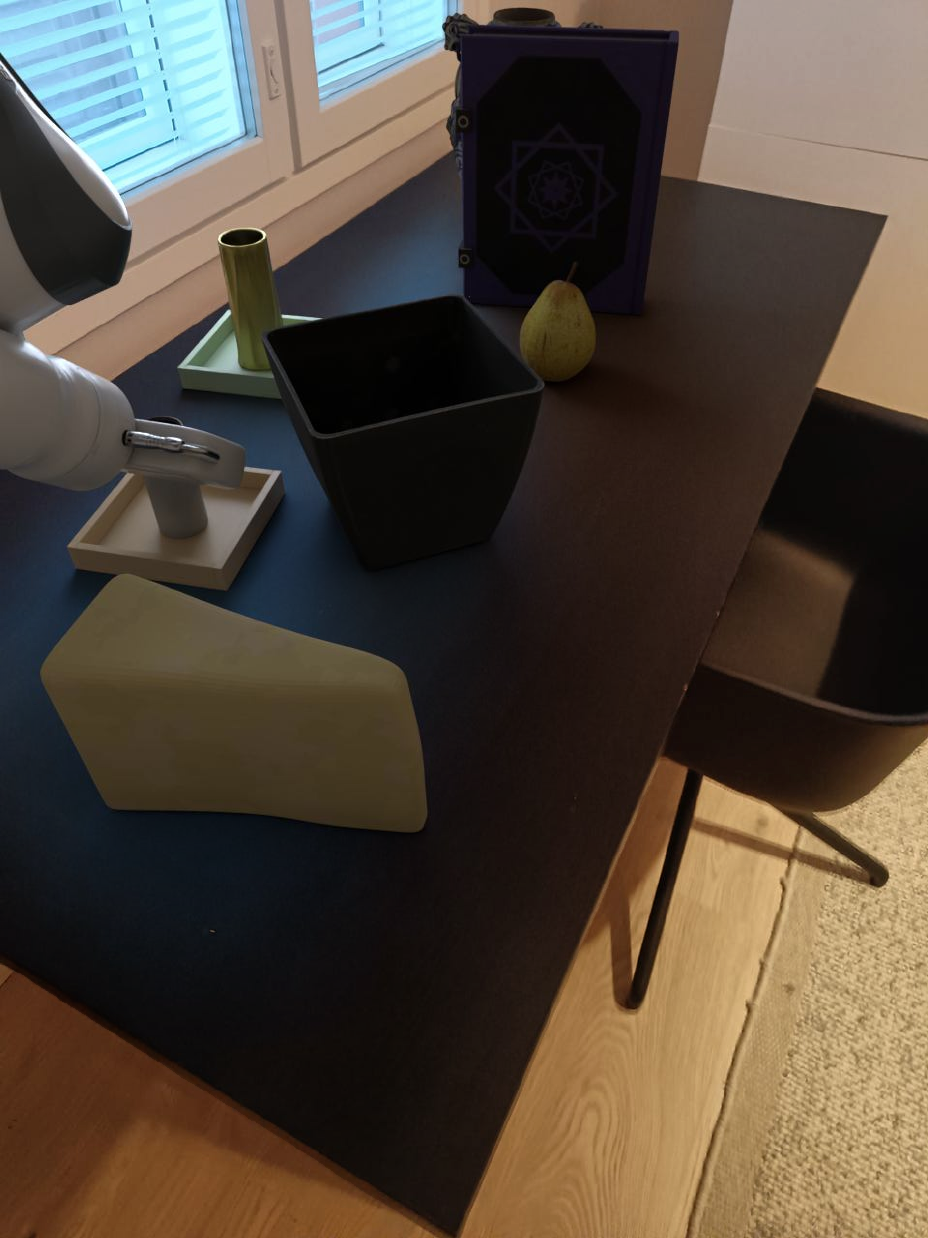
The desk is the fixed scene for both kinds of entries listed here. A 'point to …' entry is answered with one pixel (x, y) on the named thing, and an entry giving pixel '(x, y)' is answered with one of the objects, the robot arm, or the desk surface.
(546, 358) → the fruit
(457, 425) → the flower pot
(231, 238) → the vase
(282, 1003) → the desk surface
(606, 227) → the book
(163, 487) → the grey tapered cylinder
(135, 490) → the tray
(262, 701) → the cheese
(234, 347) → the vase tray
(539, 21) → the decorative vase
